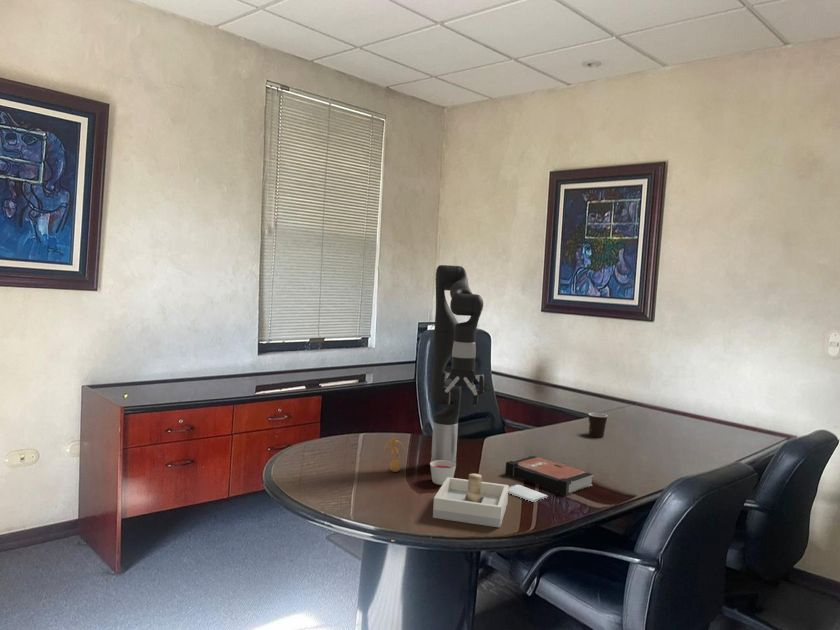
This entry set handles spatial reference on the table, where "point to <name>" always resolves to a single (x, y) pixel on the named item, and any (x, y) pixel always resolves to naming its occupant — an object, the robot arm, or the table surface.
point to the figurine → (394, 465)
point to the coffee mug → (597, 424)
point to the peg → (474, 488)
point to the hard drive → (526, 493)
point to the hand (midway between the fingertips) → (461, 404)
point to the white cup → (442, 471)
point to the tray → (471, 503)
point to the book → (550, 474)
